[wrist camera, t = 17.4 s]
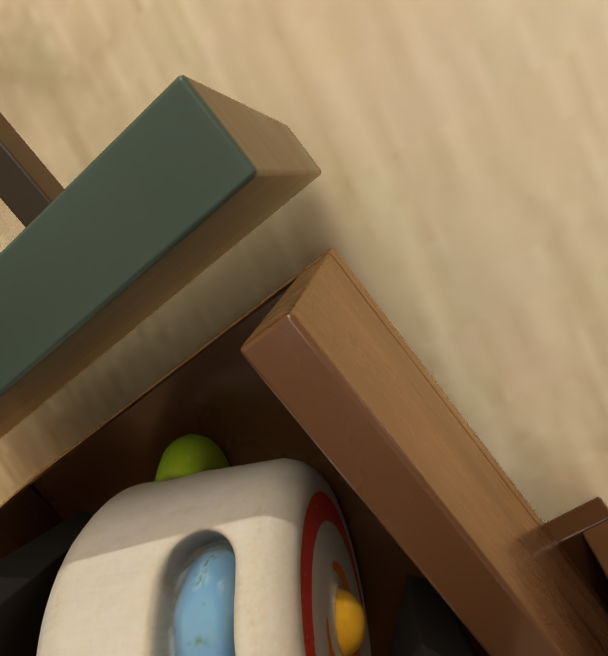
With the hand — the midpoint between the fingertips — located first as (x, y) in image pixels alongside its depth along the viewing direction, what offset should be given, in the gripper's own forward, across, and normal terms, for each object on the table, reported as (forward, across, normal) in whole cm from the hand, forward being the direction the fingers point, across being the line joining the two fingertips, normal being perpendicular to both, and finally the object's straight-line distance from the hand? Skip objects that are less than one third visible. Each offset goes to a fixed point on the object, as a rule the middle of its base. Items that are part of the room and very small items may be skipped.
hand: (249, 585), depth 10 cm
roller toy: (+2, 0, 0) cm, 2 cm away
